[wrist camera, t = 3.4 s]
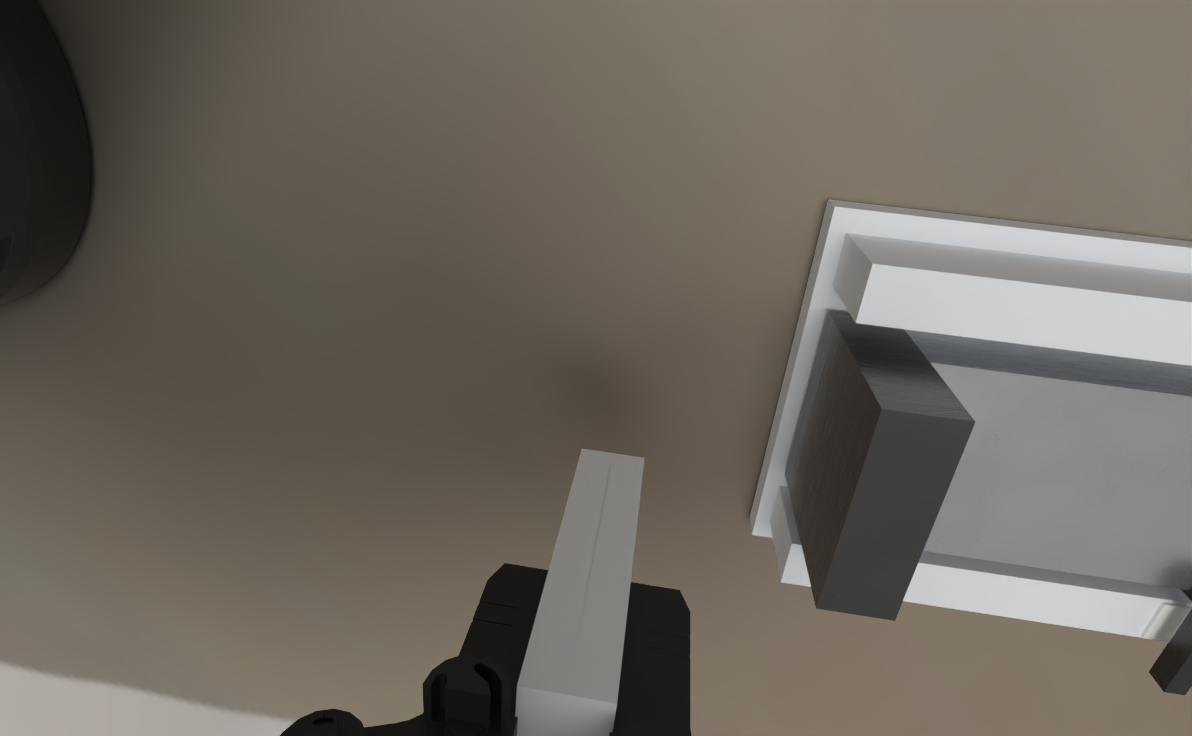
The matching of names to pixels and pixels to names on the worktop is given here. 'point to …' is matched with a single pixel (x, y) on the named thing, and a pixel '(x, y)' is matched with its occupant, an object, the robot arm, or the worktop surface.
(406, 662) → the worktop surface
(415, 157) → the worktop surface
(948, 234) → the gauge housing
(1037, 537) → the block with dark end
